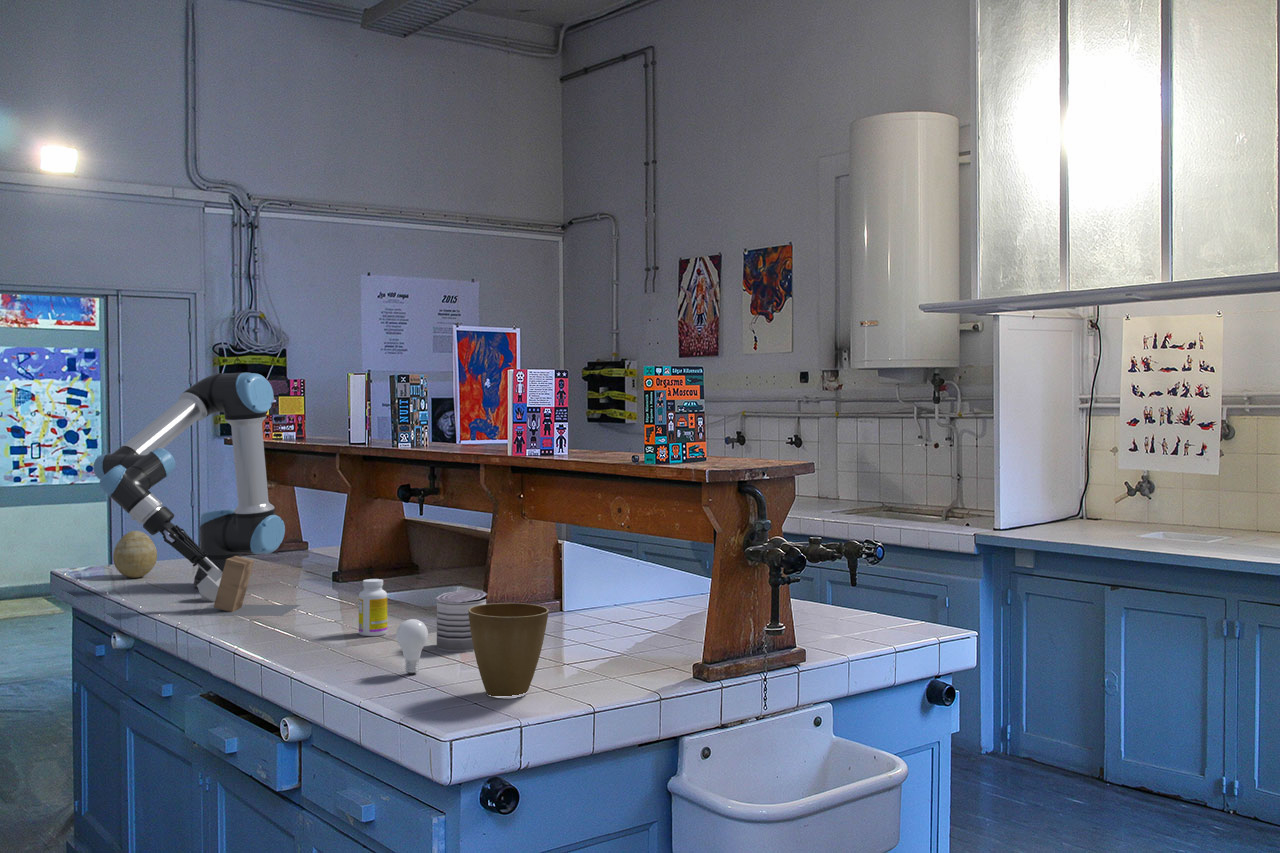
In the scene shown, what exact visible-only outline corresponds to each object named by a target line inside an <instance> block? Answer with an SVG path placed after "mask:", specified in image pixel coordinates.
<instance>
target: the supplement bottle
mask: <svg viewBox="0 0 1280 853" xmlns="http://www.w3.org/2000/svg"><path fill="white" fill-rule="evenodd" d="M383 585H384V579H381V578H380V579H379V578H369V579H363V580H362V586H363V590H361V591H360V592H359V595H358V634H359V635H360V636H363V637H379V636H384V635H386V634H387V633H388V593H387V591H386V590H384V589H383Z"/></svg>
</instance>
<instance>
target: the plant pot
mask: <svg viewBox="0 0 1280 853" xmlns="http://www.w3.org/2000/svg"><path fill="white" fill-rule="evenodd" d="M468 612H469V622H470V630H471V636H472V642H473V647H474V651H473V652H474V656H475V660H476V664H477V665H476V666H477V667H478V668H477V669H478V672H479V675H480V678H481V682H482V684H483V687H484V690H485V692H486V695H487V694H488V695H491V696H512V695H519V694H523V693H526V692H527V691H529V689H530V686H531V683H532V682H533V679H534V676H535V672H536V669H537V667H538V663H539V660H540V656H541V653H542V648H543V644H544V639H545V636H546V630H547V625H548V618H549V612H550V610H549V608H547V607H546V606H542V605H538V604H533V603H521V602H520V603H519V602H499V603H498V602H497V603H486V604H484V605H477V606H473V607H471V608H469V609H468ZM527 693H528V692H527ZM488 695H487V696H488Z"/></svg>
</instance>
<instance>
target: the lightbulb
mask: <svg viewBox="0 0 1280 853" xmlns="http://www.w3.org/2000/svg"><path fill="white" fill-rule="evenodd" d="M395 639H396V643H397V644H398V647H400V649H401V651H402V654H403V658H404V664H405V668H404V669H405V670H404V672H405V673H407V674H409V675H415V674H416V673H418V672H419V670H420V668H419V667H420V666H419V664H420V658H421V654H422V650H423V648H424V647H425V646H426V645H427V642H428V639H429V630H428V628H427V626H426V624H425V623H424V622H423V621H421V620H419V619H416V618H410V619H406V620H405V621H402V623H400V624H399V625H398V627H397V629H396V633H395Z"/></svg>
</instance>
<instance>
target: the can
mask: <svg viewBox="0 0 1280 853" xmlns="http://www.w3.org/2000/svg"><path fill="white" fill-rule="evenodd" d="M488 595H489V594H488V593H487V592H485V591H483V590H469V589H468V590H466V589H463V590H456V591H450V592H444V593H442V594H440V595H438V596H436V597H435V598H434V599H435V600H436V649H437V650H438V651H443V652H446V651H447V652H448V653H467V652H466V651H469V652H474V651H473V650H474V647H473V642H472V636H471V630H470V622H469V612H468V609H469V608H471V607H473V606H477V605H484V604H487V598H486V596H488Z"/></svg>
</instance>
